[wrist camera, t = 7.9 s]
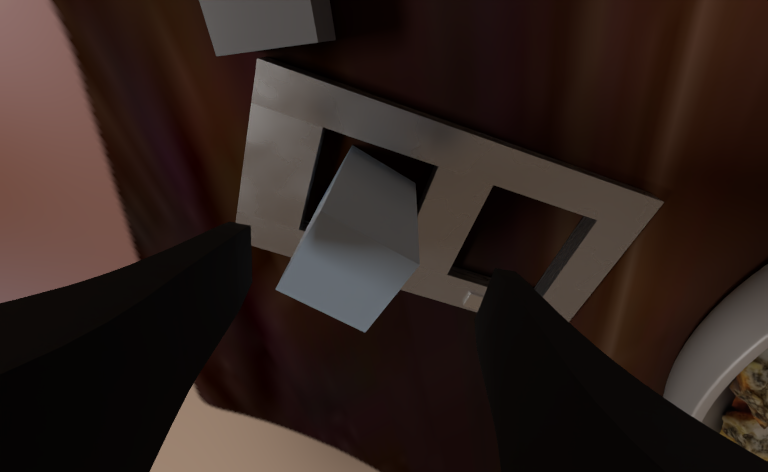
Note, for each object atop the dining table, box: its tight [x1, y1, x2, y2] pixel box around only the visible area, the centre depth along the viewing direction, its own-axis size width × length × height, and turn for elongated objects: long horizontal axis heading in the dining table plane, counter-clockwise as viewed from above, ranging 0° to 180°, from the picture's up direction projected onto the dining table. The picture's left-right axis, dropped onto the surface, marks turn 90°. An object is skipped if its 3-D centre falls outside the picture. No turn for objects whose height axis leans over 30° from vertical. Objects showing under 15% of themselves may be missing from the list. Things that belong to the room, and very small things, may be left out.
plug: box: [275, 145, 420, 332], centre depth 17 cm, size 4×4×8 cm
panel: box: [236, 57, 664, 322], centre depth 20 cm, size 21×10×1 cm, turn 72°
